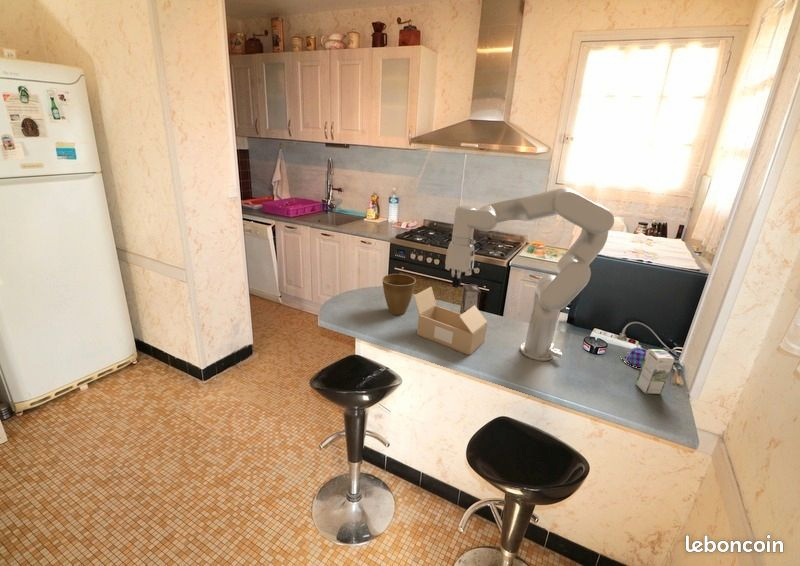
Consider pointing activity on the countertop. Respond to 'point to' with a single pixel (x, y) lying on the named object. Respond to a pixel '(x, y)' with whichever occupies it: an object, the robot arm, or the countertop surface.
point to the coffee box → (470, 297)
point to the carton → (449, 330)
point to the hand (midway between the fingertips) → (456, 286)
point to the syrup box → (654, 371)
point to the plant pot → (398, 292)
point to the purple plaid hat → (636, 356)
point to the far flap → (425, 300)
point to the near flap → (473, 319)
